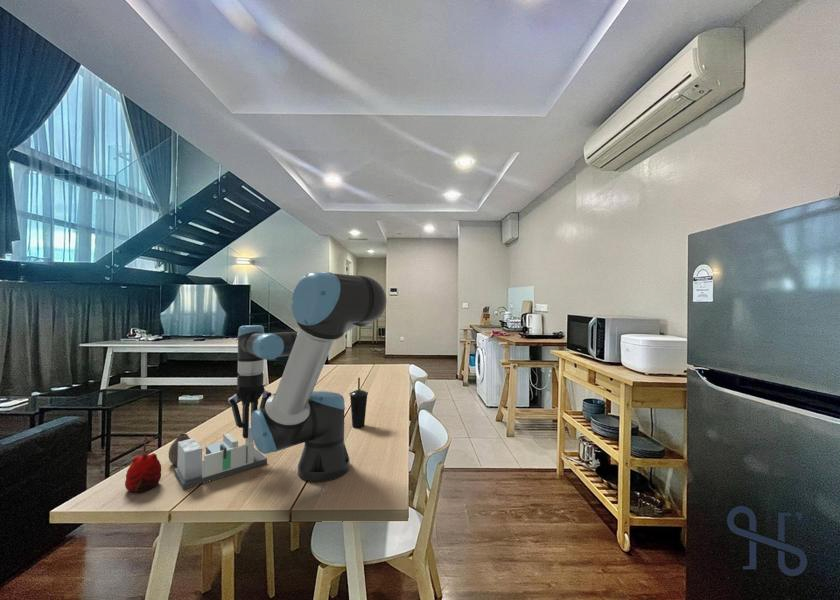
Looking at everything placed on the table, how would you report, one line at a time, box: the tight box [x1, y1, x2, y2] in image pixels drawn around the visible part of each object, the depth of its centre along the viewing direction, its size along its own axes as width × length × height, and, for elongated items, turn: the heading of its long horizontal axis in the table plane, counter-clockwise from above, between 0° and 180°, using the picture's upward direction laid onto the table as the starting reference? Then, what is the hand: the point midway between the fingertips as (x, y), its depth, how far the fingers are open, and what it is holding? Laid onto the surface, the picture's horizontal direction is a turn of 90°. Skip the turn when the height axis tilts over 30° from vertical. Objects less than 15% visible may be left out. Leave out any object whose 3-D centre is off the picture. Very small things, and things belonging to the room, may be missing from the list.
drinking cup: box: [348, 377, 369, 429], centre depth 140 cm, size 8×8×20 cm
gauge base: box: [174, 442, 268, 490], centre depth 103 cm, size 12×22×8 cm, turn 135°
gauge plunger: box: [205, 432, 239, 459], centre depth 102 cm, size 12×7×7 cm, turn 45°
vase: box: [168, 433, 191, 466], centre depth 106 cm, size 7×7×9 cm
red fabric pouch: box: [124, 434, 162, 494], centre depth 92 cm, size 8×7×15 cm
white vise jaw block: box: [176, 437, 203, 482], centre depth 97 cm, size 10×4×8 cm, turn 45°
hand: (249, 447), depth 108 cm, fingers closed
